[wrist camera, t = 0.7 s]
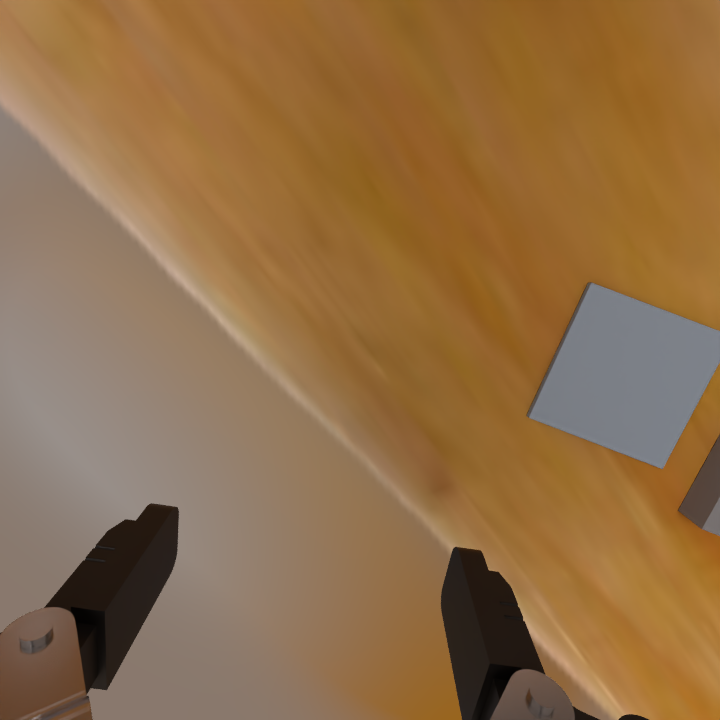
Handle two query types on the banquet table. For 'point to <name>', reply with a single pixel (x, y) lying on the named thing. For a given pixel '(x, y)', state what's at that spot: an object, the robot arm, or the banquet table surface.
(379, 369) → the banquet table surface
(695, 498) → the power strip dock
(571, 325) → the rubber mat
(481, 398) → the banquet table surface
